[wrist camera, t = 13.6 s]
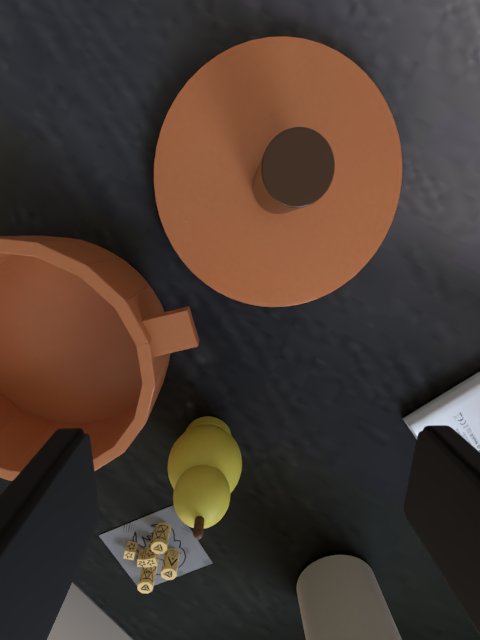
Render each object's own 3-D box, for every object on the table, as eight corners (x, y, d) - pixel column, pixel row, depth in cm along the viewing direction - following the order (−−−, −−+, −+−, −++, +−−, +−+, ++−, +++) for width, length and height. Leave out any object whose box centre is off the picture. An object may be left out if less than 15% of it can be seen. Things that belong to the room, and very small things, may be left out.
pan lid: (123, 84, 20) (68, 8, 13) (379, 14, 20) (460, -103, 13) (195, 326, 25) (181, 362, 18) (405, 274, 24) (475, 291, 17)
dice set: (166, 519, 29) (162, 539, 28) (191, 556, 31) (189, 577, 29) (119, 538, 30) (111, 559, 28) (145, 574, 31) (140, 596, 29)
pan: (-111, 275, 23) (-227, 290, 17) (169, 202, 22) (149, 192, 16) (-13, 453, 27) (-79, 513, 21) (225, 396, 26) (224, 442, 20)
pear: (167, 416, 27) (135, 511, 18) (231, 400, 26) (233, 489, 17) (185, 469, 28) (165, 582, 19) (246, 455, 28) (255, 563, 19)
